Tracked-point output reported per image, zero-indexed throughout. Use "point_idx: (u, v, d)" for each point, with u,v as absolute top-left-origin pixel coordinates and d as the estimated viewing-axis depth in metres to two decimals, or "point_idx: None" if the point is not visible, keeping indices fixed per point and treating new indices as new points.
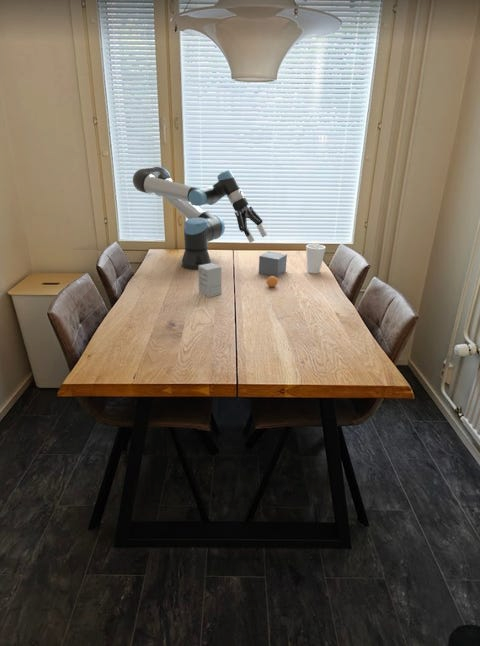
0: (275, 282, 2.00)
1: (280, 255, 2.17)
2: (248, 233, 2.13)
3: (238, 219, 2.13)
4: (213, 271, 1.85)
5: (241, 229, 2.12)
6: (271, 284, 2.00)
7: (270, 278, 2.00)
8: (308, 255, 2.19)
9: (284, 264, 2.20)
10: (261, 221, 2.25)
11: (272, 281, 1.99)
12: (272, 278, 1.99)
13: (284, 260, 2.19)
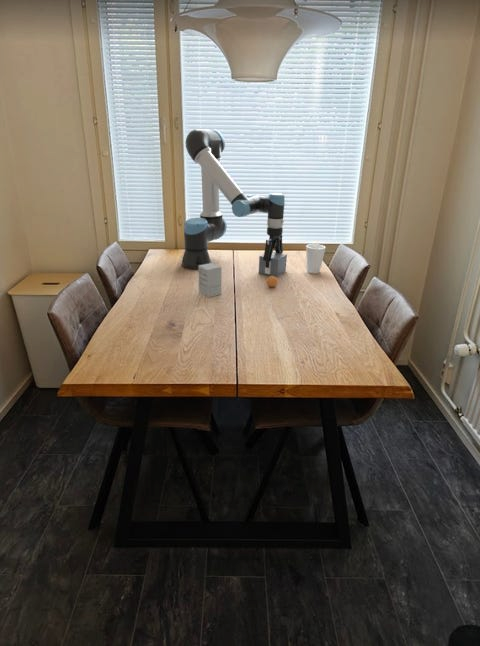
0: (275, 282, 2.00)
1: (280, 255, 2.17)
2: (268, 265, 2.14)
3: (266, 249, 2.10)
4: (213, 271, 1.85)
5: (265, 260, 2.11)
6: (271, 284, 2.00)
7: (270, 278, 2.00)
8: (308, 255, 2.19)
9: (284, 264, 2.20)
10: None
11: (272, 281, 1.99)
12: (272, 278, 1.99)
13: (284, 260, 2.19)
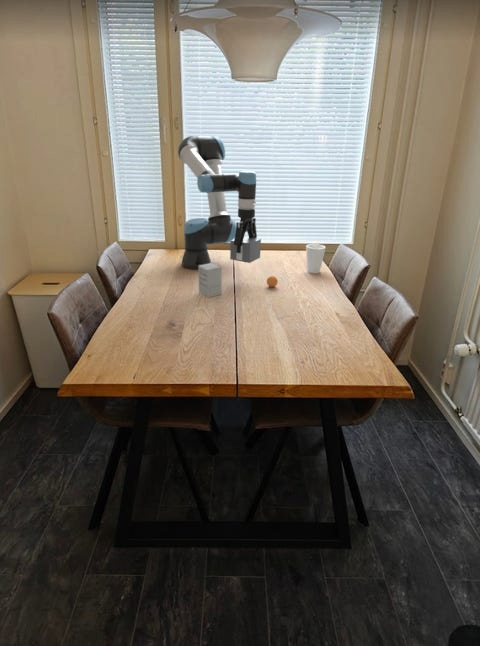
0: (275, 282, 2.00)
1: (253, 240, 2.00)
2: (240, 250, 1.97)
3: (237, 232, 1.93)
4: (213, 271, 1.85)
5: (235, 244, 1.94)
6: (271, 284, 2.00)
7: (270, 278, 2.00)
8: (308, 255, 2.19)
9: (258, 250, 2.02)
10: None
11: (272, 281, 1.99)
12: (272, 278, 1.99)
13: (258, 245, 2.01)
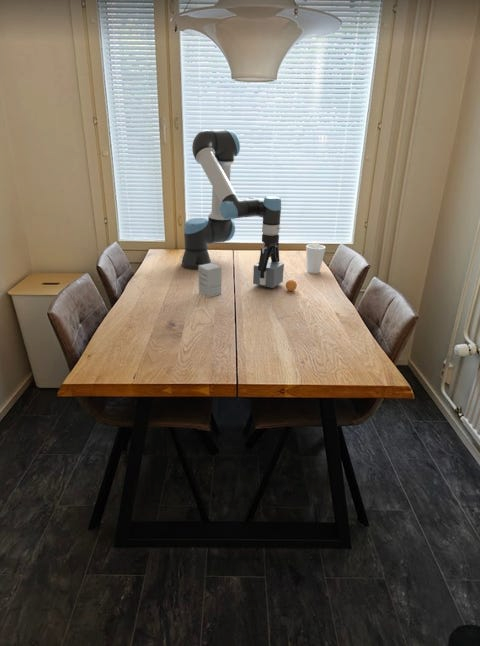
0: (286, 283, 1.97)
1: (276, 265, 1.99)
2: (263, 276, 1.95)
3: (261, 258, 1.91)
4: (213, 271, 1.85)
5: (259, 270, 1.93)
6: (288, 284, 1.95)
7: (287, 289, 1.97)
8: (308, 255, 2.19)
9: (281, 274, 2.01)
10: None
11: (286, 286, 1.96)
12: (286, 288, 1.98)
13: (281, 270, 2.00)
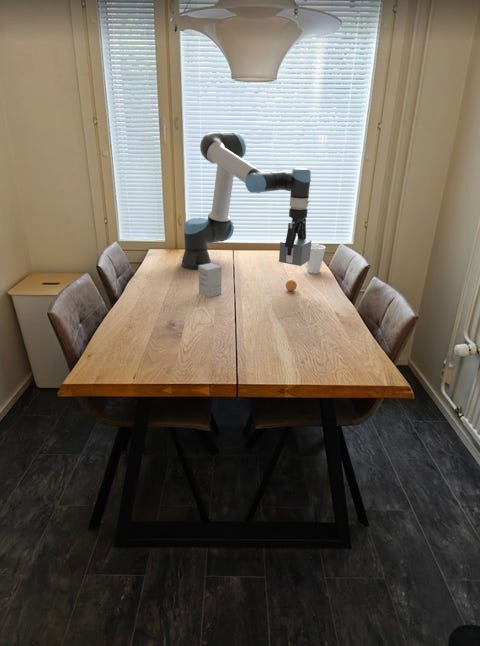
0: (286, 283, 1.97)
1: (304, 241, 1.88)
2: (290, 253, 1.85)
3: (289, 233, 1.81)
4: (213, 271, 1.85)
5: (287, 246, 1.82)
6: (288, 284, 1.95)
7: (287, 289, 1.97)
8: None
9: (308, 252, 1.91)
10: None
11: (286, 286, 1.96)
12: (286, 288, 1.98)
13: (308, 247, 1.89)
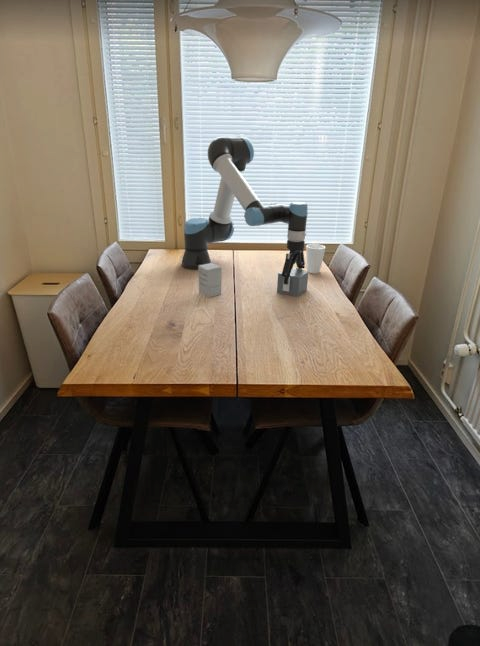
0: None
1: (301, 273, 1.94)
2: (287, 282, 1.89)
3: (286, 263, 1.86)
4: (213, 271, 1.85)
5: (283, 276, 1.86)
6: None
7: None
8: (308, 255, 2.19)
9: (305, 282, 1.96)
10: (303, 266, 2.00)
11: None
12: None
13: (305, 278, 1.95)
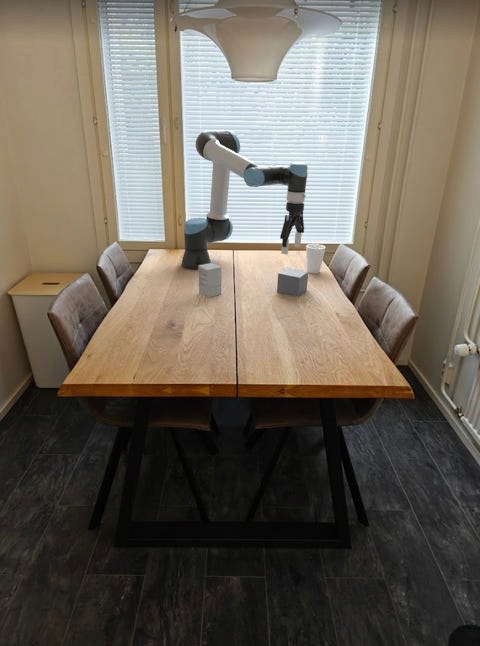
0: None
1: (301, 273, 1.94)
2: (286, 244, 1.88)
3: (285, 225, 1.84)
4: (213, 271, 1.85)
5: (282, 238, 1.85)
6: None
7: None
8: (308, 255, 2.19)
9: (305, 282, 1.96)
10: (303, 231, 1.98)
11: None
12: None
13: (305, 278, 1.95)
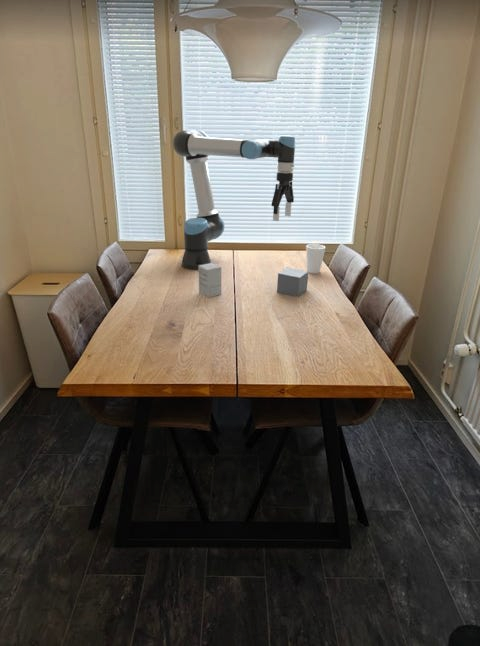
0: None
1: (301, 273, 1.94)
2: (277, 211, 2.04)
3: (275, 193, 2.00)
4: (213, 271, 1.85)
5: (273, 205, 2.01)
6: None
7: None
8: (308, 255, 2.19)
9: (305, 282, 1.96)
10: (292, 200, 2.14)
11: None
12: None
13: (305, 278, 1.95)
